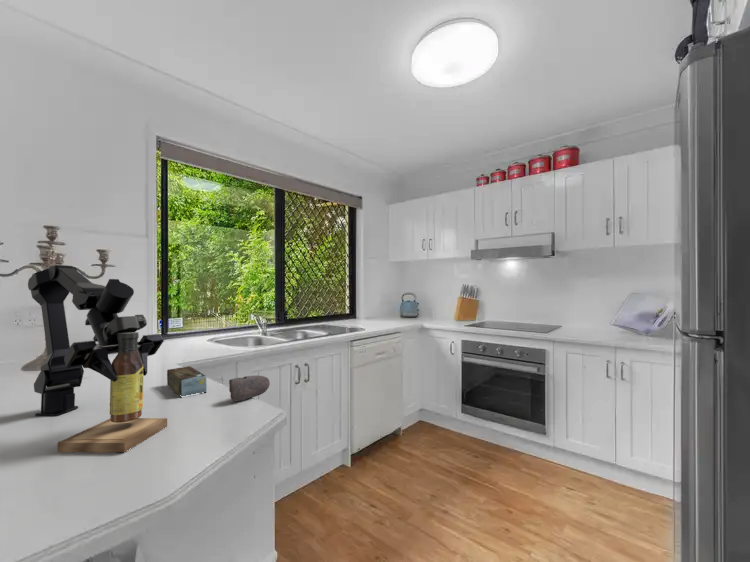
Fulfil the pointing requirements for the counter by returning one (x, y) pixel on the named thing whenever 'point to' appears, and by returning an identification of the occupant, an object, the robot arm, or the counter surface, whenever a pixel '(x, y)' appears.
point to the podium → (112, 436)
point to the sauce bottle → (127, 380)
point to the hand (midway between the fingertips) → (131, 377)
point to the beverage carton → (186, 381)
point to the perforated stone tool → (248, 387)
